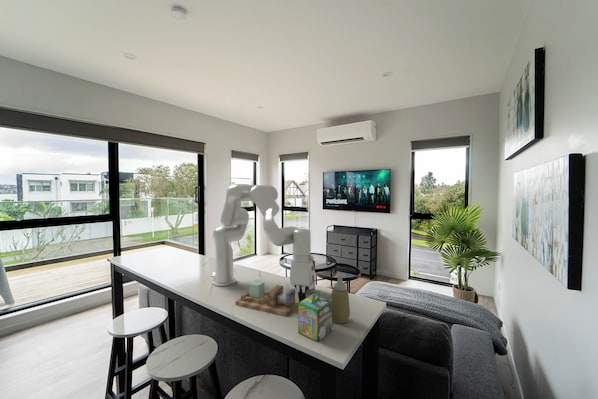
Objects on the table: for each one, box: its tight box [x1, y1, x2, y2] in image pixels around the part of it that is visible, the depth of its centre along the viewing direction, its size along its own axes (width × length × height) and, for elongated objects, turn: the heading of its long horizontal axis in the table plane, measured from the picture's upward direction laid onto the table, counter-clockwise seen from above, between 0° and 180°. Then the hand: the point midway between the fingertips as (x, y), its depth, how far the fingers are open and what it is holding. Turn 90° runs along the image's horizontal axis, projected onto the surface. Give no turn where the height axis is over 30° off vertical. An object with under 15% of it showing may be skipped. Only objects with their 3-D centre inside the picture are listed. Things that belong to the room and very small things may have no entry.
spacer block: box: [248, 280, 265, 299], centre depth 118 cm, size 5×5×7 cm
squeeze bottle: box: [330, 274, 351, 325], centre depth 101 cm, size 8×8×18 cm
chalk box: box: [297, 290, 333, 343], centre depth 92 cm, size 9×9×15 cm
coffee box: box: [294, 259, 316, 295], centre depth 130 cm, size 9×6×16 cm
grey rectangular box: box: [276, 288, 296, 307], centre depth 113 cm, size 11×6×6 cm, turn 66°
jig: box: [235, 284, 301, 317], centre depth 116 cm, size 26×14×7 cm, turn 66°
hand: (302, 300), depth 109 cm, fingers closed
